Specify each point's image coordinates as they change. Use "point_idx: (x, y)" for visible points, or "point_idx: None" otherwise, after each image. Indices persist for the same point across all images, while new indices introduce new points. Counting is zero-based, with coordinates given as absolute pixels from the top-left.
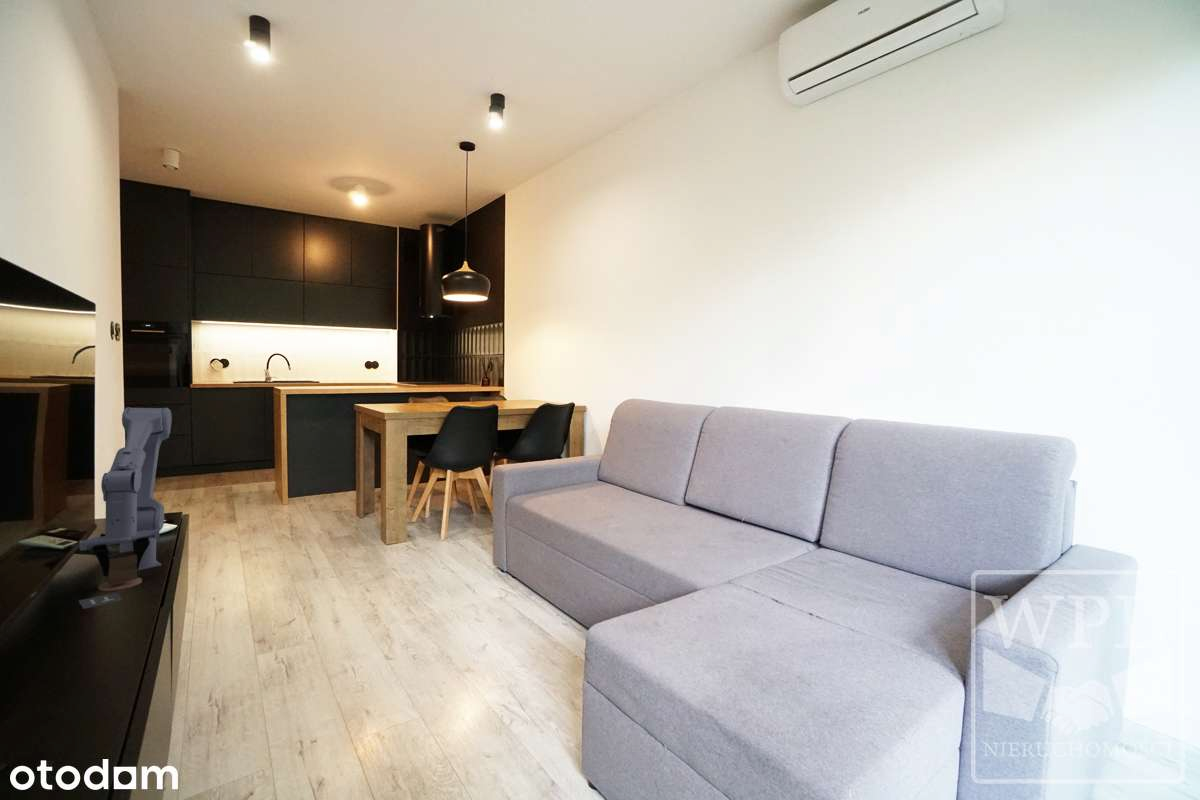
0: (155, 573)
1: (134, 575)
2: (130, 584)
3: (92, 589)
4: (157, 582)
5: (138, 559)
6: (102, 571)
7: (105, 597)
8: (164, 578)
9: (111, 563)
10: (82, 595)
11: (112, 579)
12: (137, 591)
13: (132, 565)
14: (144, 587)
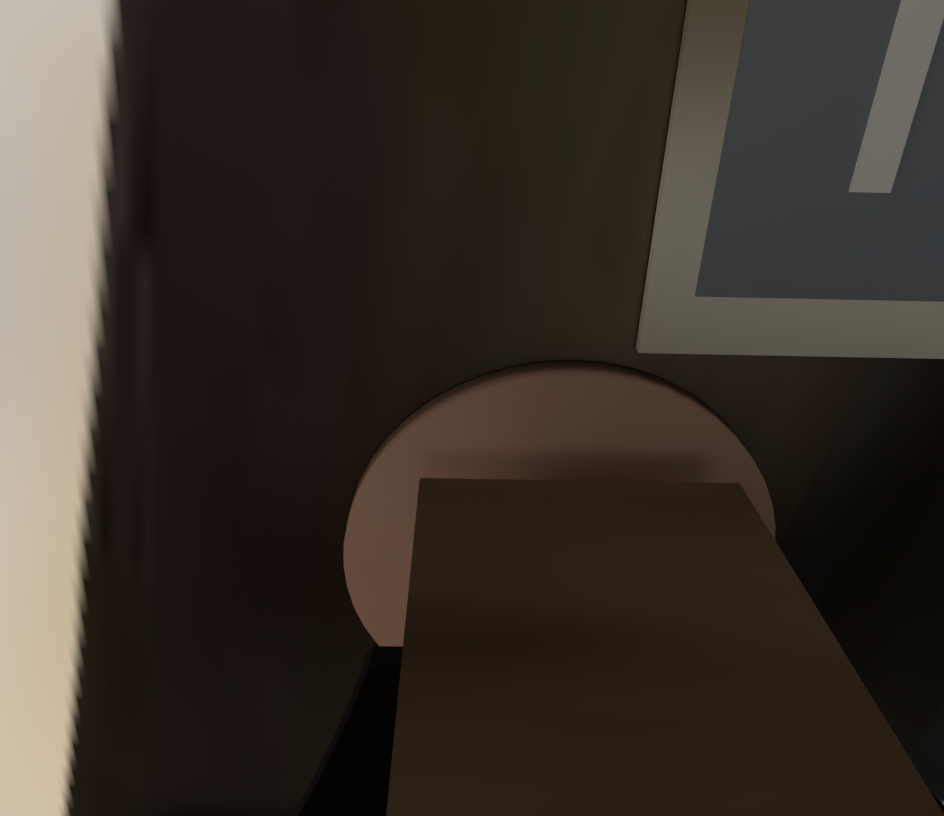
0: (193, 682)
1: (446, 517)
2: (494, 438)
3: None
4: (195, 360)
5: (347, 809)
6: None
7: (880, 152)
8: (109, 459)
9: (904, 794)
10: (929, 497)
11: (729, 529)
12: (474, 146)
13: (477, 665)
14: (363, 267)
